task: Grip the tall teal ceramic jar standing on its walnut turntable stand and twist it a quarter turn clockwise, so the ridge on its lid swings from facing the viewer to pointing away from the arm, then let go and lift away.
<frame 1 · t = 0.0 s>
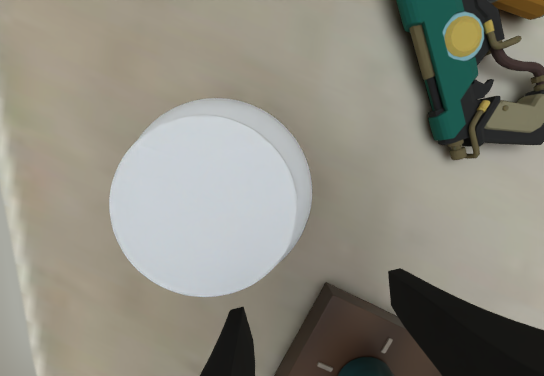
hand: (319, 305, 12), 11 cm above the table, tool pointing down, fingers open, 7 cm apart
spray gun: (465, 61, 22), on the table
pill bottle: (238, 176, 22), on the table
jar stand: (354, 363, 24), on the table
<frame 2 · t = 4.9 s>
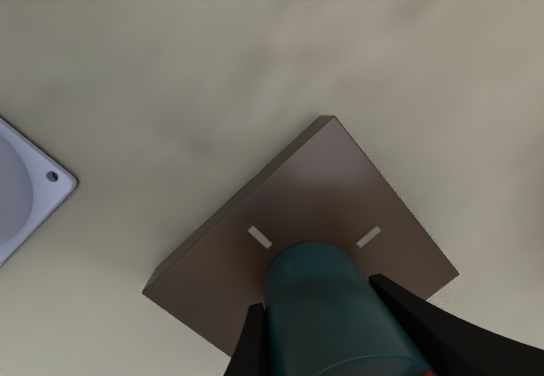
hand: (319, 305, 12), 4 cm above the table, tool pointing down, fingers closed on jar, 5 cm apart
jar: (330, 336, 10), point 6 cm above the table, hinge at 0.0°, touching gripper
jar stand: (301, 261, 16), on the table
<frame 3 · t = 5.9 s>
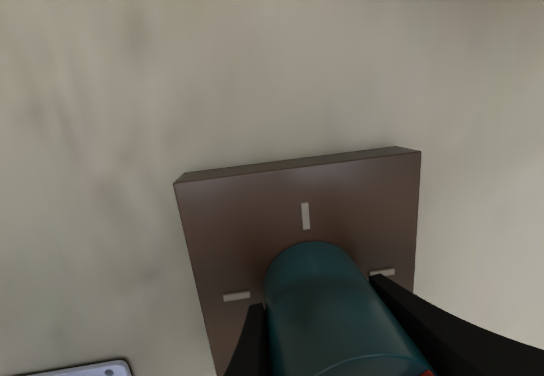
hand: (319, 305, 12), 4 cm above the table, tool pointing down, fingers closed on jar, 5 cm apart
jar: (330, 336, 10), point 6 cm above the table, hinge at -53.5°, touching gripper
jar stand: (301, 261, 16), on the table
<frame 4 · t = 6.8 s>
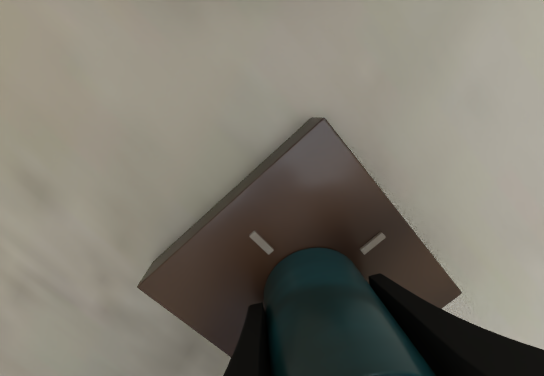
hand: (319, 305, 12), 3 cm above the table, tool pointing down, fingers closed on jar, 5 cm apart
jar: (334, 347, 10), point 6 cm above the table, hinge at -89.5°, touching gripper
jar stand: (303, 267, 15), on the table
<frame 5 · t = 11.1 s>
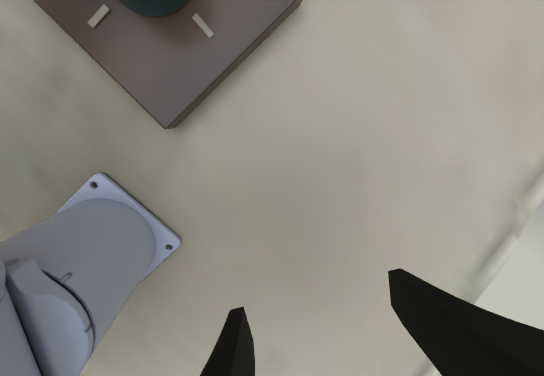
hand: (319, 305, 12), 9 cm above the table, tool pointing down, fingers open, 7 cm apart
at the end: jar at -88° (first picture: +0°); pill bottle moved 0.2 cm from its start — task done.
